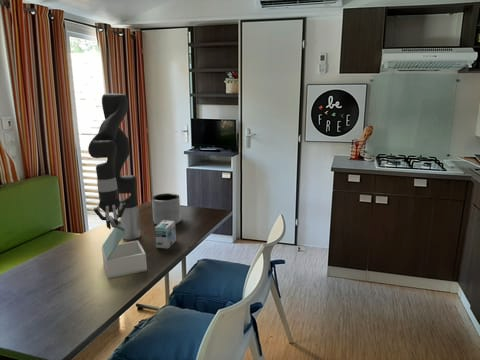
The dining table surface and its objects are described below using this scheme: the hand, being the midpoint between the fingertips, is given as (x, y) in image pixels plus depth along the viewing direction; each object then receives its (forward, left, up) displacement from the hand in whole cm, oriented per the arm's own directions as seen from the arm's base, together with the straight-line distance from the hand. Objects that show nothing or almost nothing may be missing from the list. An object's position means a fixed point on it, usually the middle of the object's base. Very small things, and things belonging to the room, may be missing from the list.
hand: (112, 227), depth 154 cm
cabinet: (0, +3, -19) cm, 19 cm away
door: (0, 0, -5) cm, 5 cm away
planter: (-47, +35, -19) cm, 62 cm away
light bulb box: (-16, +26, -19) cm, 36 cm away
